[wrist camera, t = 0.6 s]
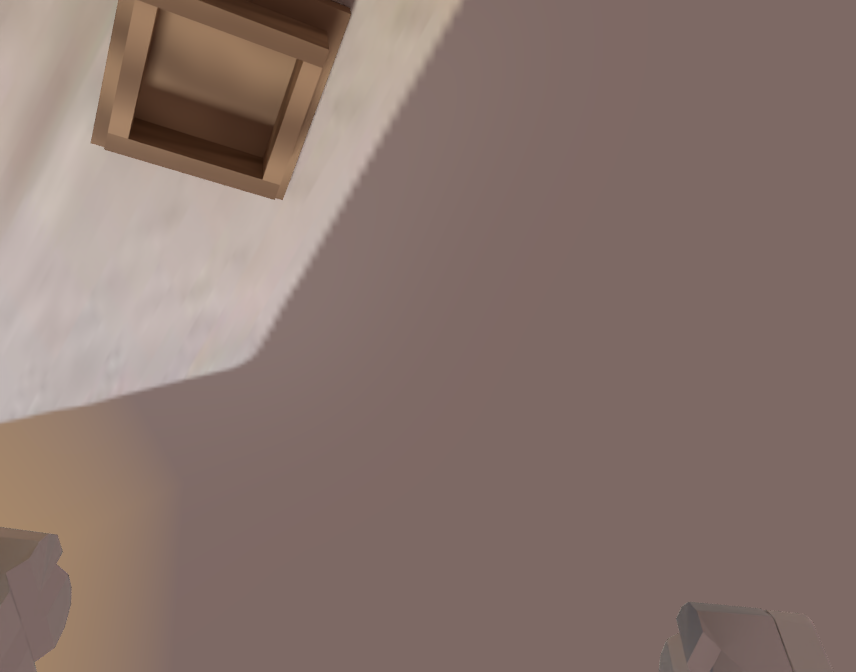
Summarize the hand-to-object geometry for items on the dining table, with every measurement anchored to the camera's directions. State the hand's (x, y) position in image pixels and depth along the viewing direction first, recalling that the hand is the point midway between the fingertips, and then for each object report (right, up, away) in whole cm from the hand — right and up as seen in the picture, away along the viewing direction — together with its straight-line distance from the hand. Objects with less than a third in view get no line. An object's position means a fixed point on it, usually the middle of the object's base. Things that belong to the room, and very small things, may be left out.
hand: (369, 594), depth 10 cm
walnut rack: (-13, +20, +40) cm, 47 cm away
